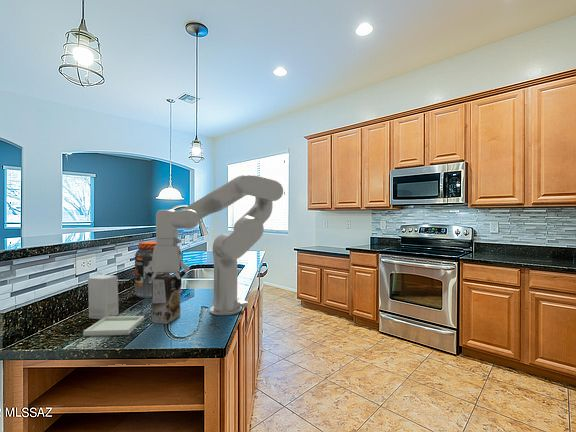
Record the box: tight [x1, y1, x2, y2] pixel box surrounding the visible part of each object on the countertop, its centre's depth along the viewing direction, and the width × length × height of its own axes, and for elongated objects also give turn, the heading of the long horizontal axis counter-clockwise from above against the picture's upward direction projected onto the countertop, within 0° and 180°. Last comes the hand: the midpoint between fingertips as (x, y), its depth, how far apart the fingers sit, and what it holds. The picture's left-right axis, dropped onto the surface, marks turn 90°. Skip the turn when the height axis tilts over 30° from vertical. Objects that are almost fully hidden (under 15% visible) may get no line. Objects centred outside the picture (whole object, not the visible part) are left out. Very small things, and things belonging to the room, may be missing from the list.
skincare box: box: [87, 274, 119, 320], centre depth 119 cm, size 8×7×16 cm
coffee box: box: [151, 274, 181, 325], centre depth 116 cm, size 9×6×16 cm
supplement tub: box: [134, 240, 171, 299], centre depth 152 cm, size 16×16×26 cm
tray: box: [82, 315, 145, 337], centre depth 108 cm, size 14×14×2 cm
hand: (166, 289), depth 116 cm, fingers closed on coffee box, 7 cm apart
